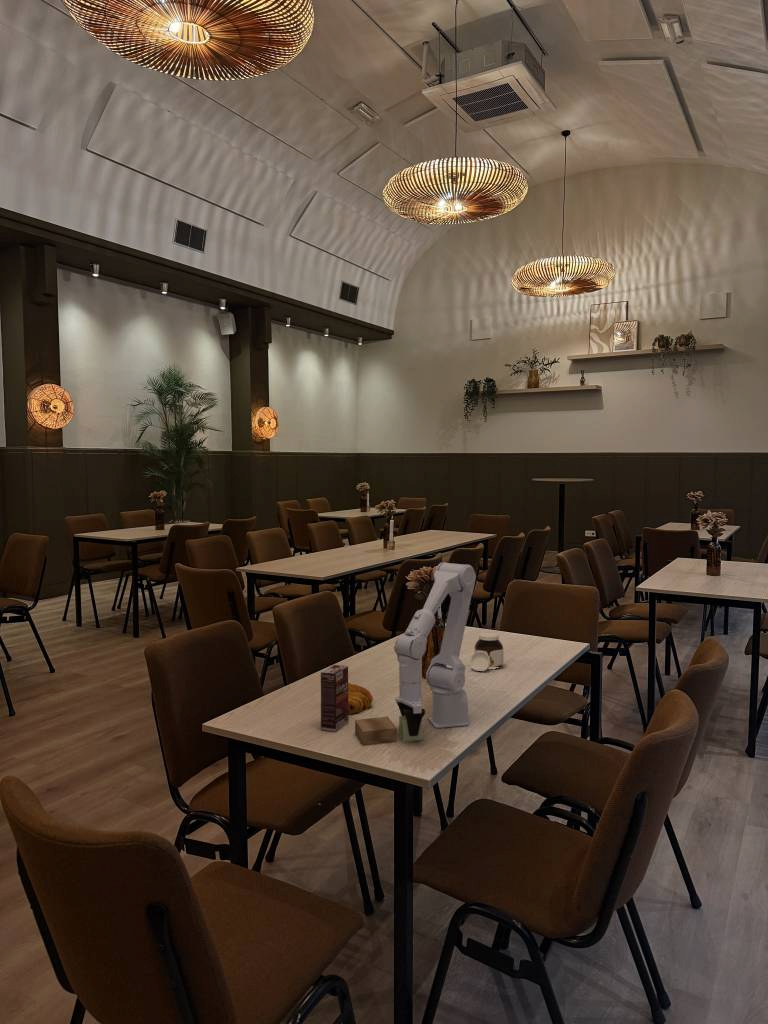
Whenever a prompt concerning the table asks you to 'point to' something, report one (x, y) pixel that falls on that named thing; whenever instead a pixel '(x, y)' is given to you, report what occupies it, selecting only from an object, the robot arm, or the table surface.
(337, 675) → the supplement box
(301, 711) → the table surface
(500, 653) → the spread jar
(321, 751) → the table surface
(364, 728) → the block
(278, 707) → the table surface
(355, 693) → the croissant
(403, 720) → the cube
